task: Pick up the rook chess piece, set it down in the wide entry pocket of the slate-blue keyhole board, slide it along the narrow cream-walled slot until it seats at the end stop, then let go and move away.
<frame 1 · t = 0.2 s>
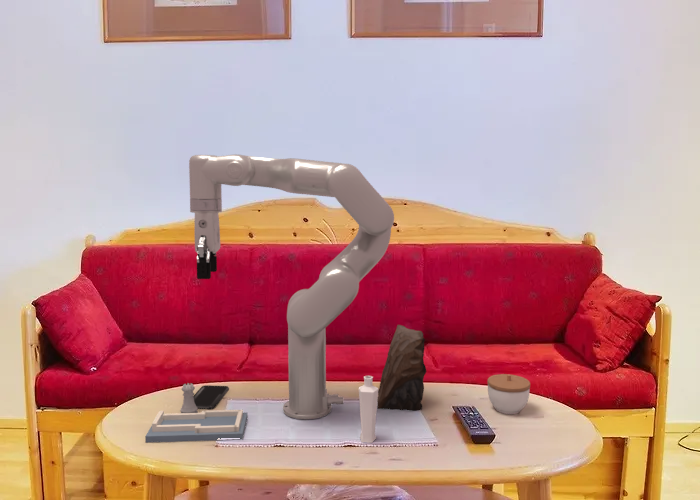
hand: (207, 275, 150), 36 cm above the table, tool pointing down, fingers open, 9 cm apart
perfume bottle: (368, 440, 140), on the table
rook chess piece: (189, 415, 154), on the table
brown rock: (397, 404, 162), on the table
lidded jar: (507, 410, 158), on the table
keyhole board: (198, 429, 145), on the table
phone: (208, 400, 165), on the table
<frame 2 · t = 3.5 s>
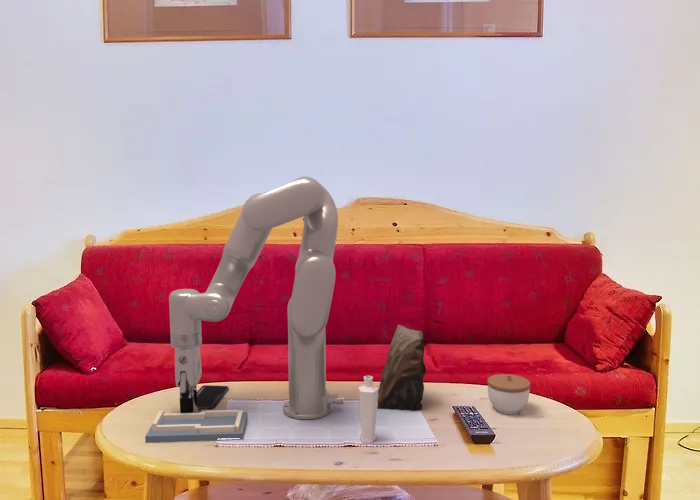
hand: (188, 407, 154), 2 cm above the table, tool pointing down, fingers closed on rook chess piece, 4 cm apart
rook chess piece: (189, 415, 154), on the table, touching gripper
everything else where it was.
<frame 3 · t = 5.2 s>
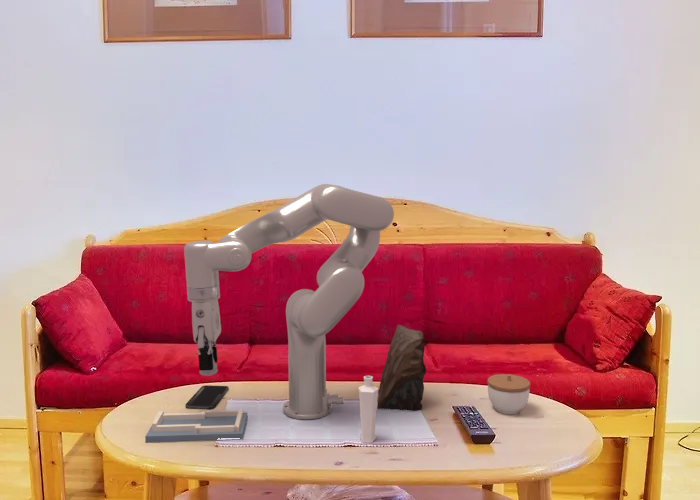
hand: (208, 365, 147), 15 cm above the table, tool pointing down, fingers closed on rook chess piece, 4 cm apart
rook chess piece: (208, 373, 148), point 13 cm above the table, touching gripper
everything else where it was.
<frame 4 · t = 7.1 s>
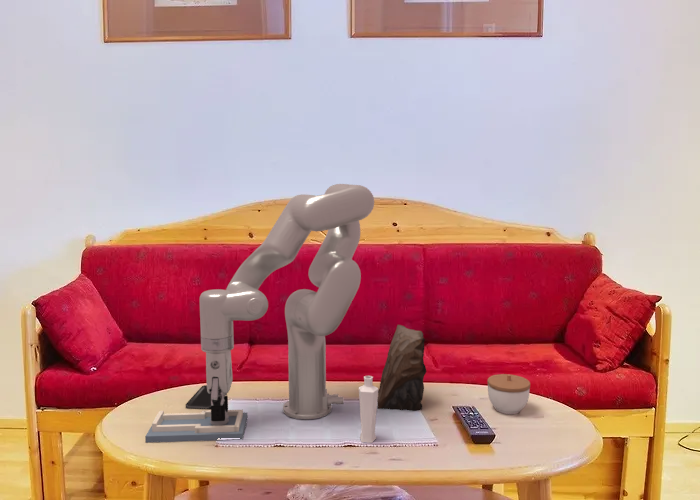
hand: (219, 415, 145), 3 cm above the table, tool pointing down, fingers closed on rook chess piece, 4 cm apart
rook chess piece: (219, 423, 146), point 1 cm above the table, touching gripper
everything else where it was.
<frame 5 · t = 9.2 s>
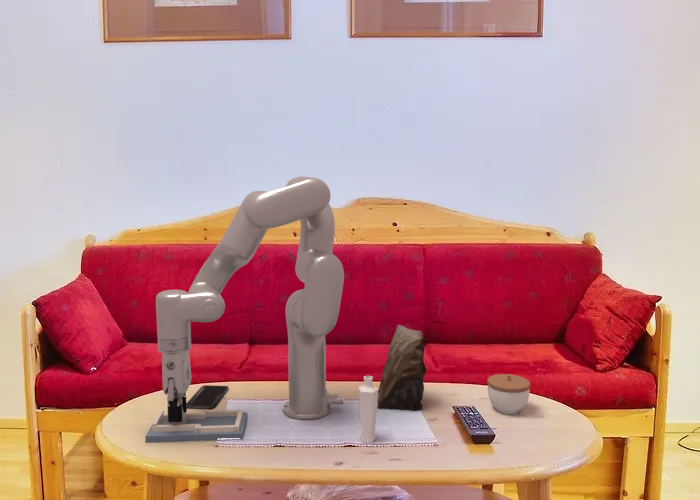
hand: (177, 416, 145), 4 cm above the table, tool pointing down, fingers closed on rook chess piece, 4 cm apart
rook chess piece: (177, 424, 145), point 1 cm above the table, touching gripper
everything else where it was.
when the fingers open (3 cm above the table, at t = 10.8 s): rook chess piece stays where it is, resting on keyhole board.
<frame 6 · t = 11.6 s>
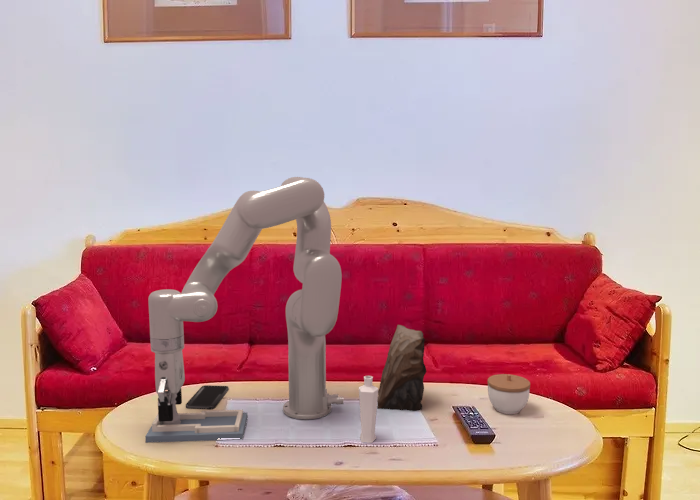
hand: (170, 412, 144), 5 cm above the table, tool pointing down, fingers open, 9 cm apart
rook chess piece: (171, 425, 145), point 1 cm above the table, touching keyhole board
everything else where it was.
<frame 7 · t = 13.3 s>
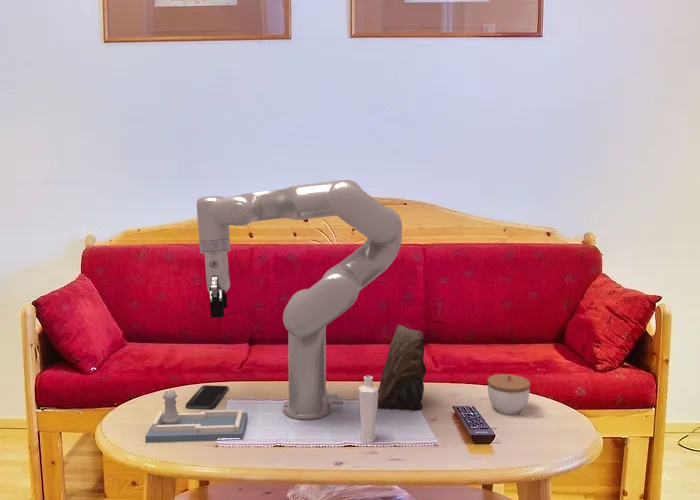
hand: (219, 312, 154), 26 cm above the table, tool pointing down, fingers open, 9 cm apart
nothing on the table moved.
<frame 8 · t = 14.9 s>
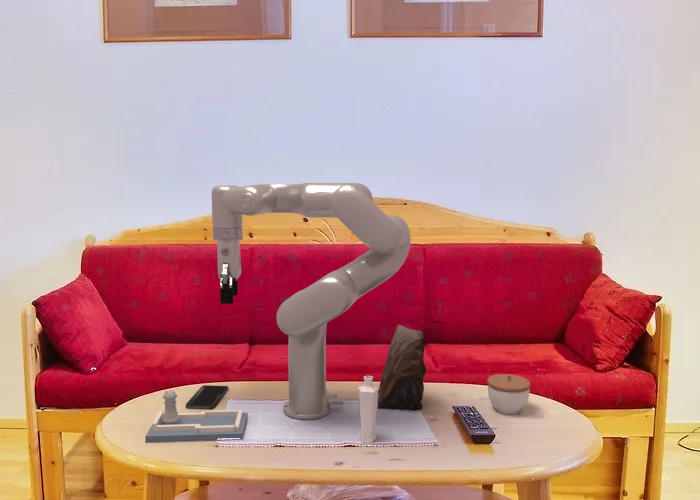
hand: (229, 299, 158), 28 cm above the table, tool pointing down, fingers open, 9 cm apart
nothing on the table moved.
at the end: rook chess piece 0.8 cm from the target spot on the keyhole board, point 1.3 cm above the keyhole board's base; rook chess piece tilted 0°; the gripper is holding nothing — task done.
